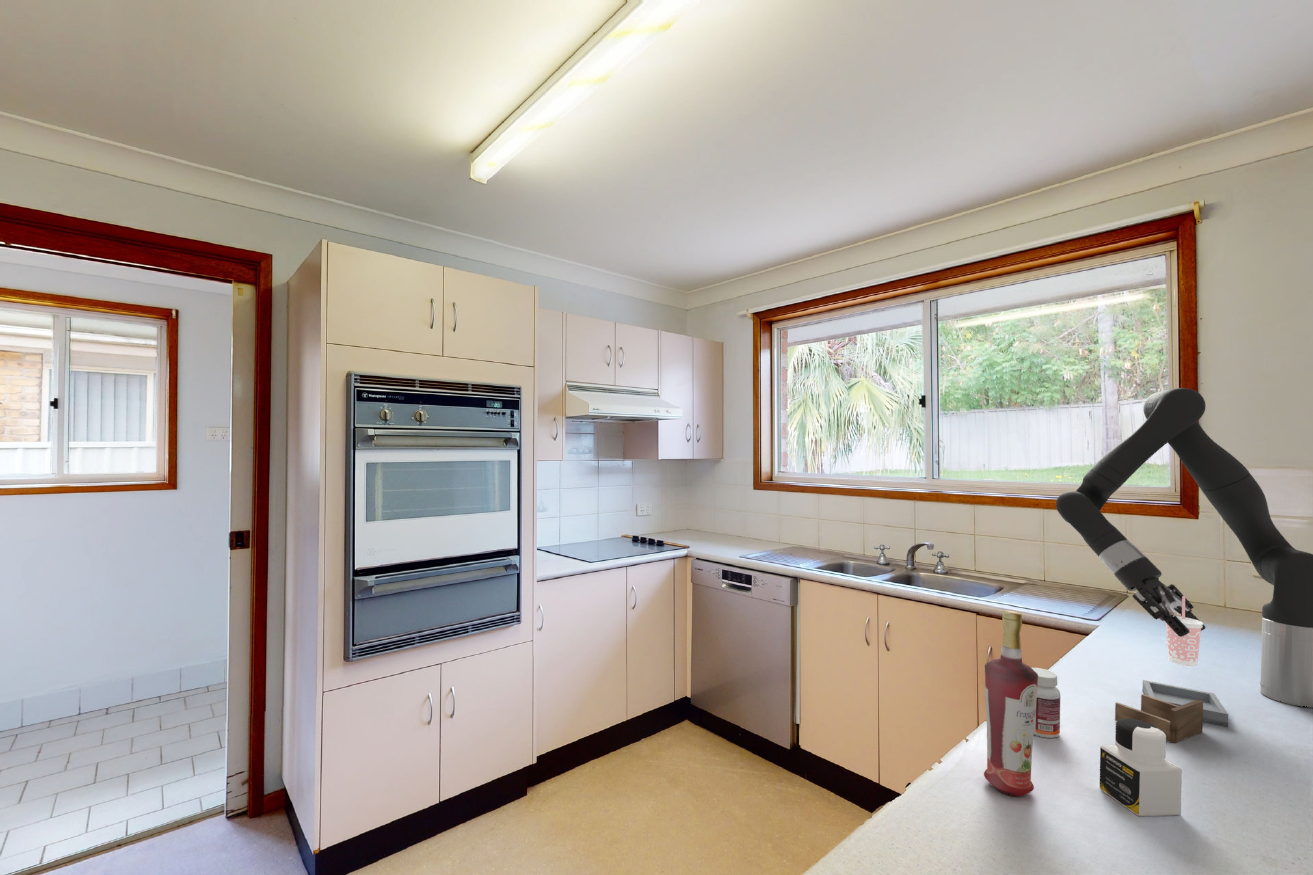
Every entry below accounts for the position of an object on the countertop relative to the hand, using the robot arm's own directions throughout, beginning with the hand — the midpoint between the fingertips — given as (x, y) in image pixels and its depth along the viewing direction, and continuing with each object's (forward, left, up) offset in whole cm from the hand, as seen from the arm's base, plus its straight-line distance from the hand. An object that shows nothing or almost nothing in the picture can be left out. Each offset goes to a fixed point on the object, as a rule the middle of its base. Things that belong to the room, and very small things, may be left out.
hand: (1193, 632), depth 124 cm
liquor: (+30, +56, -17) cm, 66 cm away
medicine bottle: (+13, +48, -17) cm, 53 cm away
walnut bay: (+7, +13, -17) cm, 22 cm away
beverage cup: (+1, -1, -7) cm, 7 cm away
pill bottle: (+26, +30, -17) cm, 43 cm away
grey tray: (+1, -1, -17) cm, 17 cm away
